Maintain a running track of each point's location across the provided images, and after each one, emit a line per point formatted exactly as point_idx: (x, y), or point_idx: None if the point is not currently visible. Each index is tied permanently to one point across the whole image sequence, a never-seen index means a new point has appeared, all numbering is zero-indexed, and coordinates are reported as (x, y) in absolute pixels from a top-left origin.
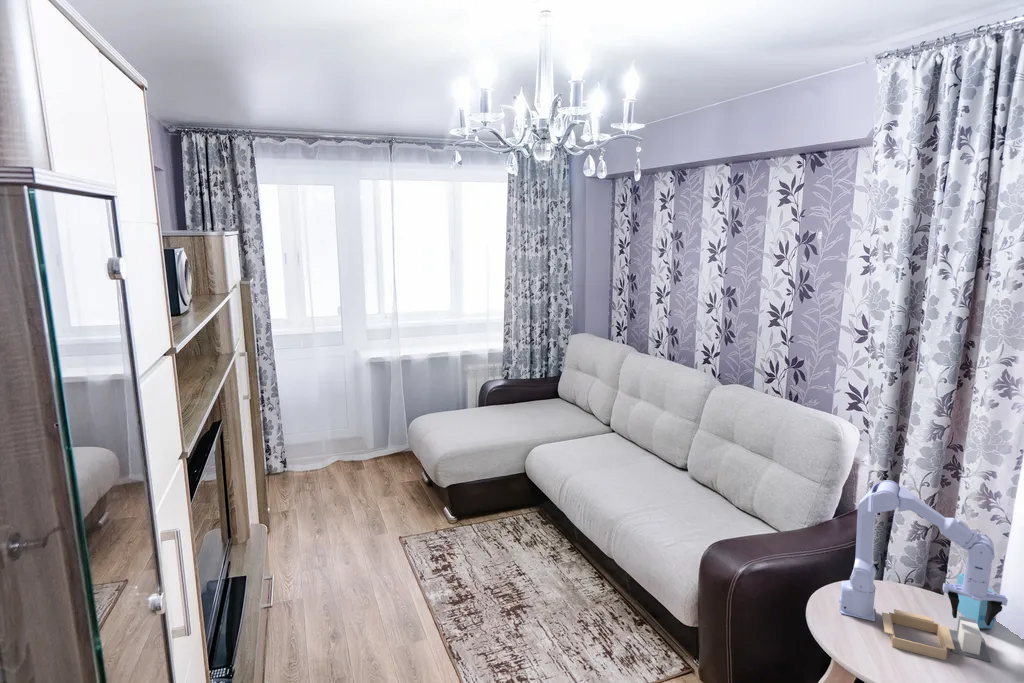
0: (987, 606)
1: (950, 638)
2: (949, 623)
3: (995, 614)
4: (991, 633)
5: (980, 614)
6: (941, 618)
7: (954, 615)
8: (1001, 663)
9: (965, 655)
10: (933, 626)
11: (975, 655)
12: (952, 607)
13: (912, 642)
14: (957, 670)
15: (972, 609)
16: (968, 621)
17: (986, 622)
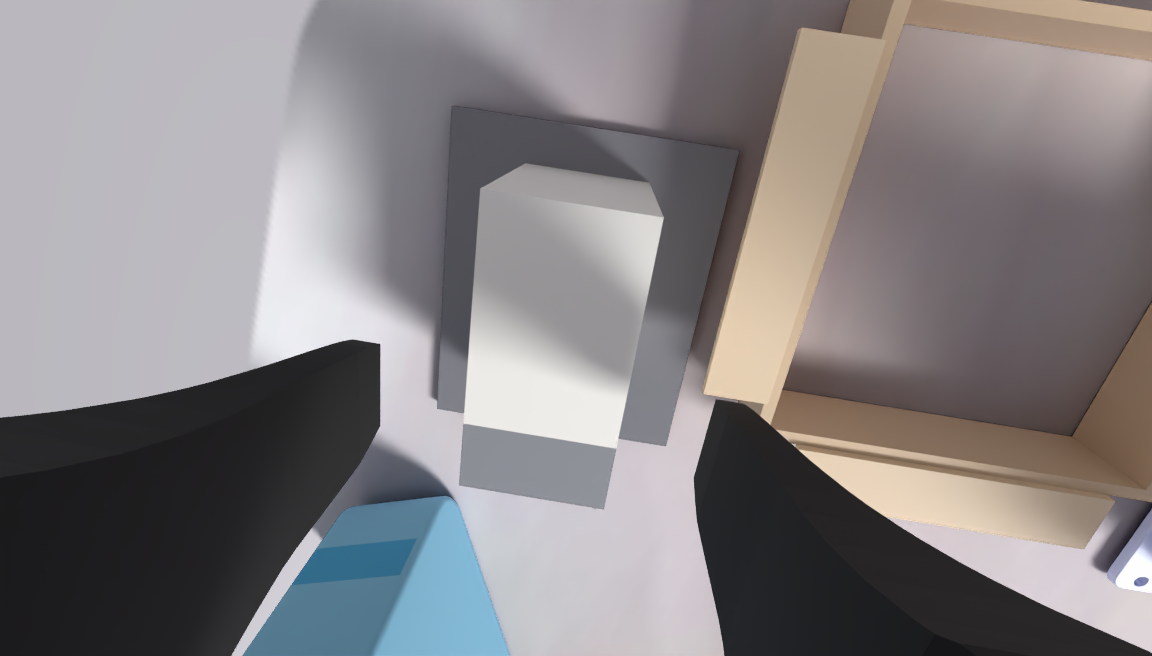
0: (236, 613)
1: (762, 220)
2: (605, 510)
3: (123, 408)
4: (367, 466)
5: (392, 582)
6: (639, 549)
7: (757, 418)
8: (380, 115)
9: (636, 135)
10: (789, 416)
11: (557, 148)
12: (861, 506)
13: None
14: None
15: (435, 633)
16: (540, 440)
17: (366, 374)
